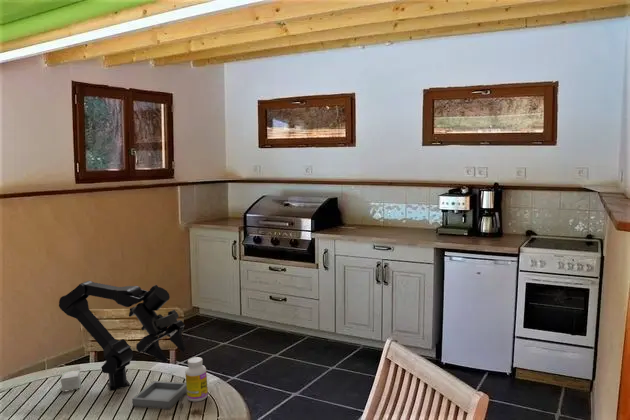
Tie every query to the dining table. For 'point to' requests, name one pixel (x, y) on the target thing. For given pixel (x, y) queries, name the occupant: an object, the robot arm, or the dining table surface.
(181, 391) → the tray
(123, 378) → the robot arm
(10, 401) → the dining table surface
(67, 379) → the small box
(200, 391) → the supplement bottle
